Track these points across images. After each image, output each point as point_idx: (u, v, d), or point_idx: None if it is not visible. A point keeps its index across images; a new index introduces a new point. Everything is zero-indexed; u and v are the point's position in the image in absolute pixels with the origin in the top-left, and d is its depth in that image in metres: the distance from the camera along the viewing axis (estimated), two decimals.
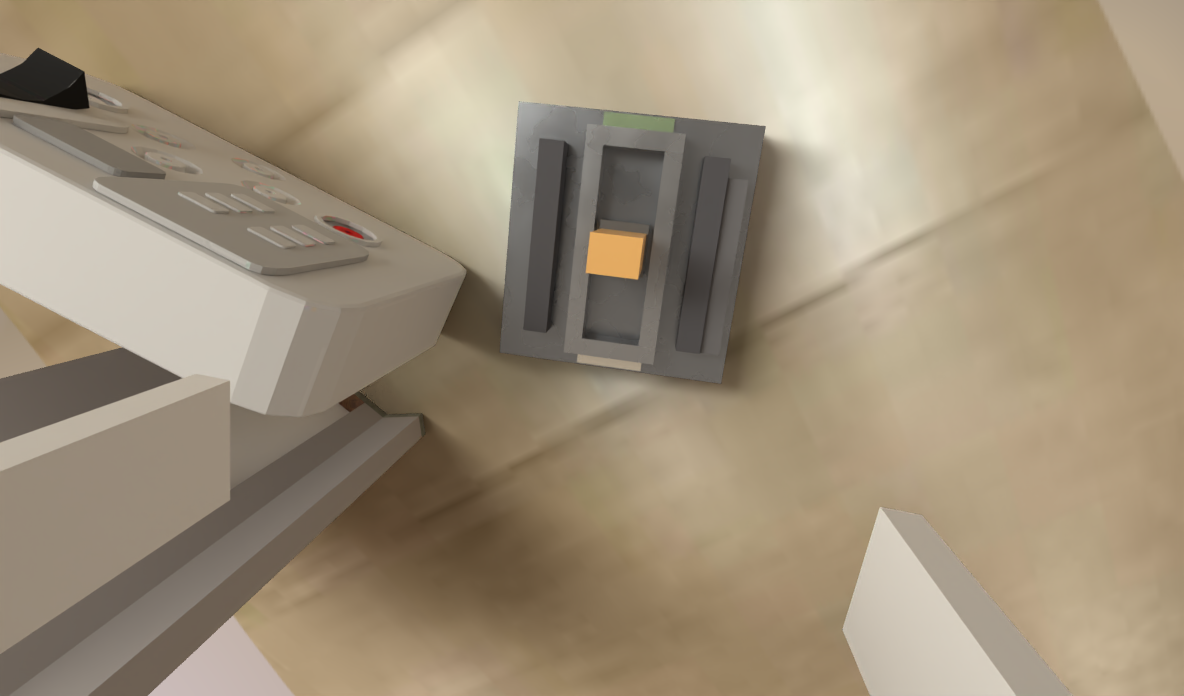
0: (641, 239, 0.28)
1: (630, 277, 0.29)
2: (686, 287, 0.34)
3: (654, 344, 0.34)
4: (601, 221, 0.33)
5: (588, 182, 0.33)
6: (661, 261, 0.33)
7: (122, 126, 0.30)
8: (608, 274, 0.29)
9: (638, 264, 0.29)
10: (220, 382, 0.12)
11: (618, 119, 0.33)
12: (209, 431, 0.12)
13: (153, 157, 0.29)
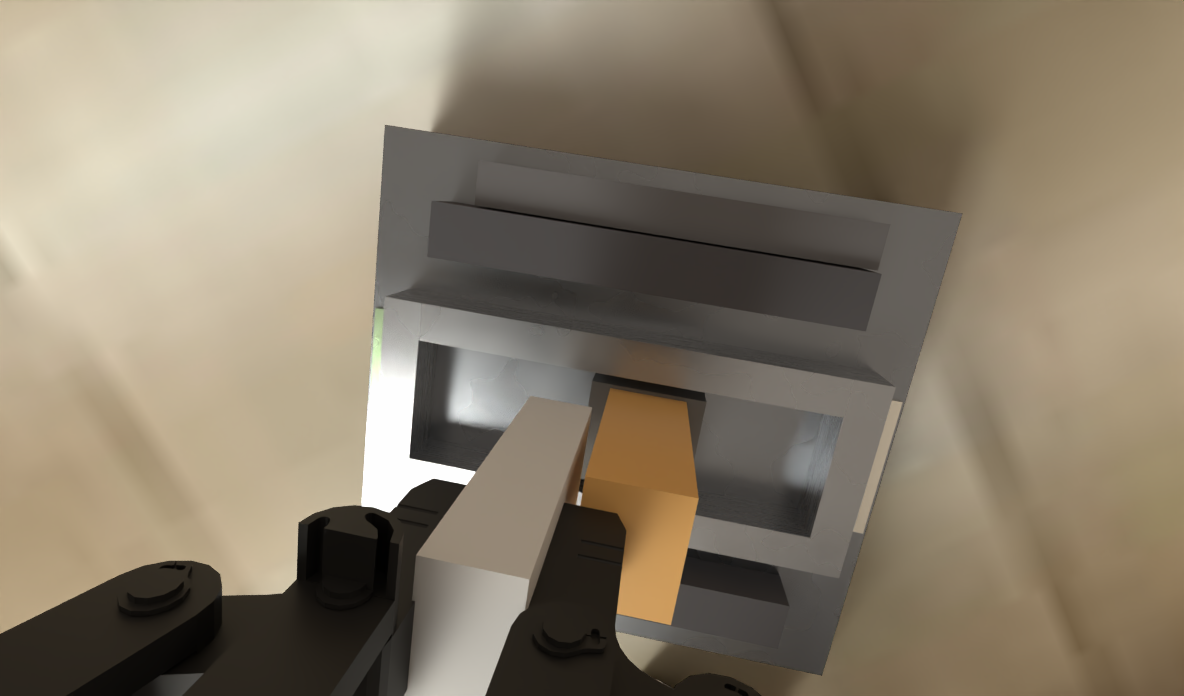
0: (588, 480, 0.10)
1: (691, 517, 0.10)
2: (709, 302, 0.14)
3: (843, 381, 0.14)
4: None
5: None
6: (645, 356, 0.15)
7: None
8: (678, 571, 0.10)
9: (656, 493, 0.10)
10: (557, 403, 0.13)
11: None
12: None
13: None
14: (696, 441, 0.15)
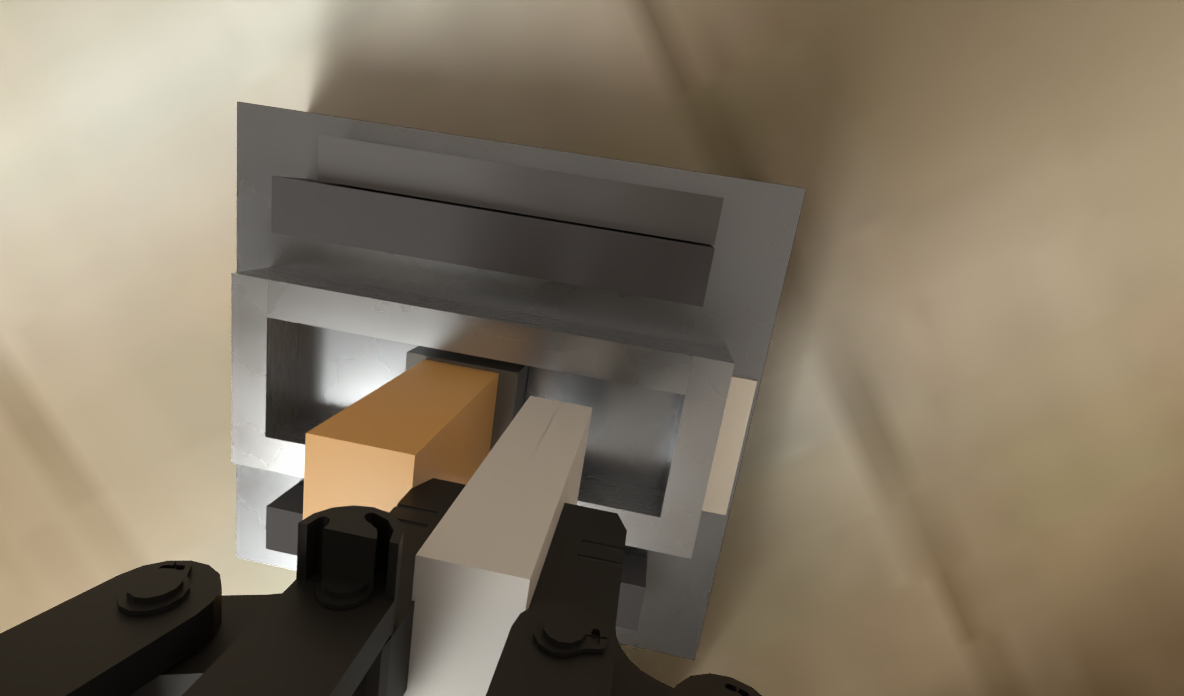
0: (309, 437, 0.10)
1: (409, 474, 0.10)
2: (548, 277, 0.14)
3: (683, 357, 0.14)
4: None
5: None
6: (488, 333, 0.15)
7: None
8: None
9: (374, 450, 0.10)
10: (557, 403, 0.13)
11: None
12: None
13: None
14: (511, 413, 0.15)
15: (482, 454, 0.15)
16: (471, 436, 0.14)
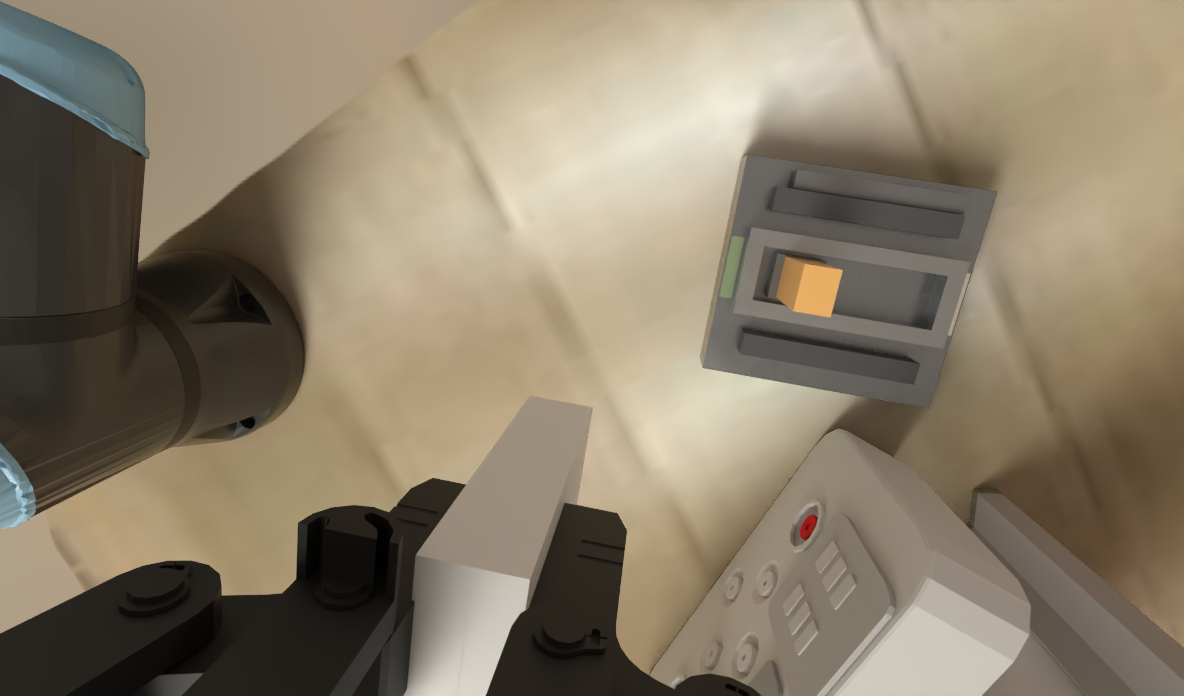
0: (805, 265, 0.31)
1: (840, 276, 0.31)
2: (893, 227, 0.35)
3: (948, 260, 0.35)
4: (769, 296, 0.37)
5: (783, 314, 0.37)
6: (865, 251, 0.36)
7: None
8: (834, 296, 0.32)
9: (828, 269, 0.31)
10: (557, 403, 0.13)
11: (727, 284, 0.38)
12: None
13: (744, 666, 0.36)
14: None
15: None
16: None
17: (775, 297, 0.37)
